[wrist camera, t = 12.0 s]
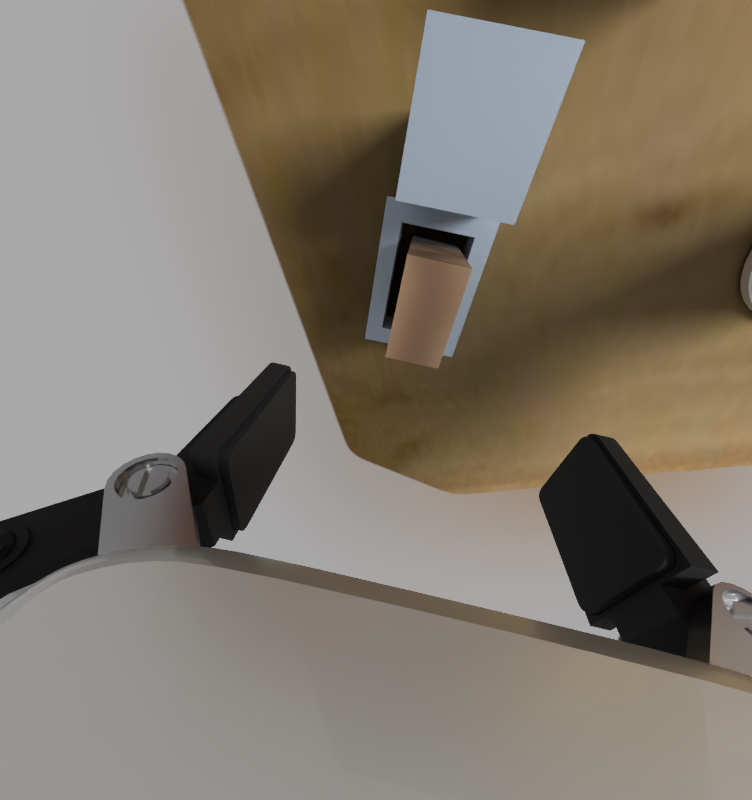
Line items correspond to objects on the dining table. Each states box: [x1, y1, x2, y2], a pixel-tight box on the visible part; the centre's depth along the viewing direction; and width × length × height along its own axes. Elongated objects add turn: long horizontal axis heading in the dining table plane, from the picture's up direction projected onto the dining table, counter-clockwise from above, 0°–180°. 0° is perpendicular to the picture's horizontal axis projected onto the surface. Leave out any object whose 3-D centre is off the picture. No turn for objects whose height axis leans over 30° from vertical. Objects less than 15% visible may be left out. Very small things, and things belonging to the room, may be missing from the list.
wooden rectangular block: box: [385, 235, 472, 369], centre depth 24 cm, size 4×7×12 cm, turn 170°
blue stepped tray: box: [365, 10, 585, 357], centre depth 22 cm, size 9×18×14 cm, turn 170°
